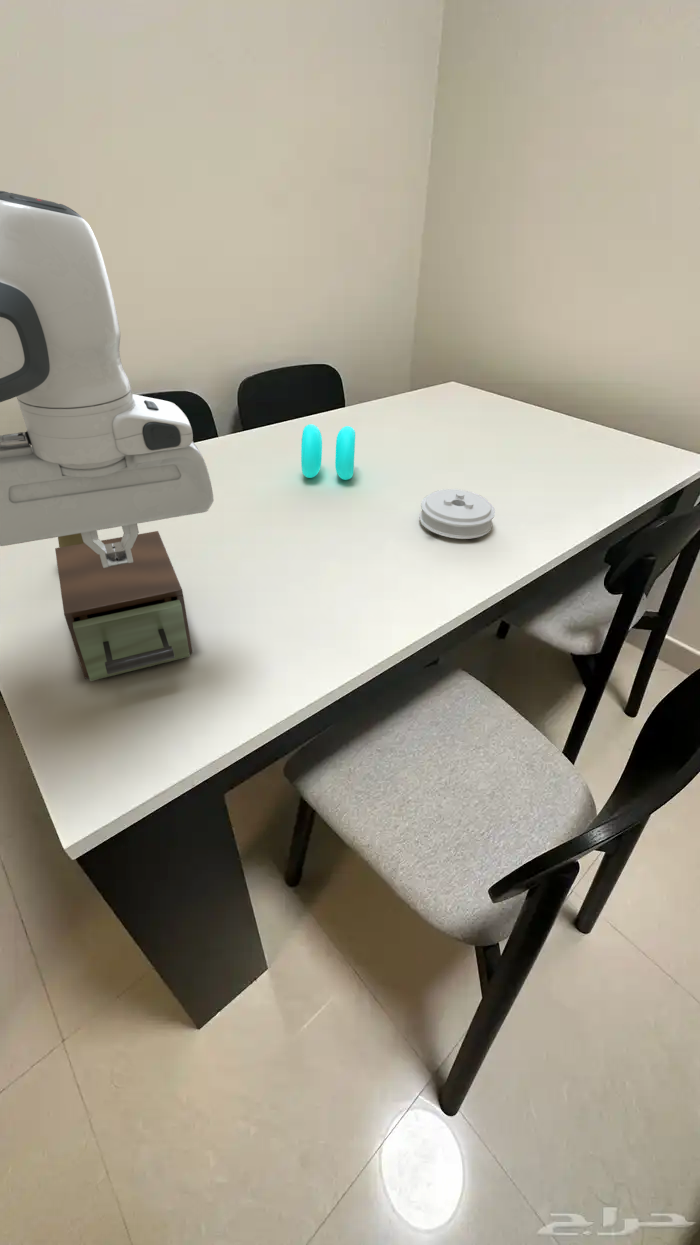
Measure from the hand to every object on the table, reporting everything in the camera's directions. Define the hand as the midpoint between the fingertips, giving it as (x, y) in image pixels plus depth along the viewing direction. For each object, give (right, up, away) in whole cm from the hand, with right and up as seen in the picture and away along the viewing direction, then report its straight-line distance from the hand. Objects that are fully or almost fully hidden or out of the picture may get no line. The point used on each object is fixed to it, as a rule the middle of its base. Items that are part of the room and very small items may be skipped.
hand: (117, 562), depth 58 cm
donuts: (+19, +23, +57) cm, 64 cm away
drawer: (-3, -9, +13) cm, 16 cm away
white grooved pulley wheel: (+42, +11, +44) cm, 61 cm away
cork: (-16, +2, +28) cm, 33 cm away
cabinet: (-5, -7, +17) cm, 19 cm away
